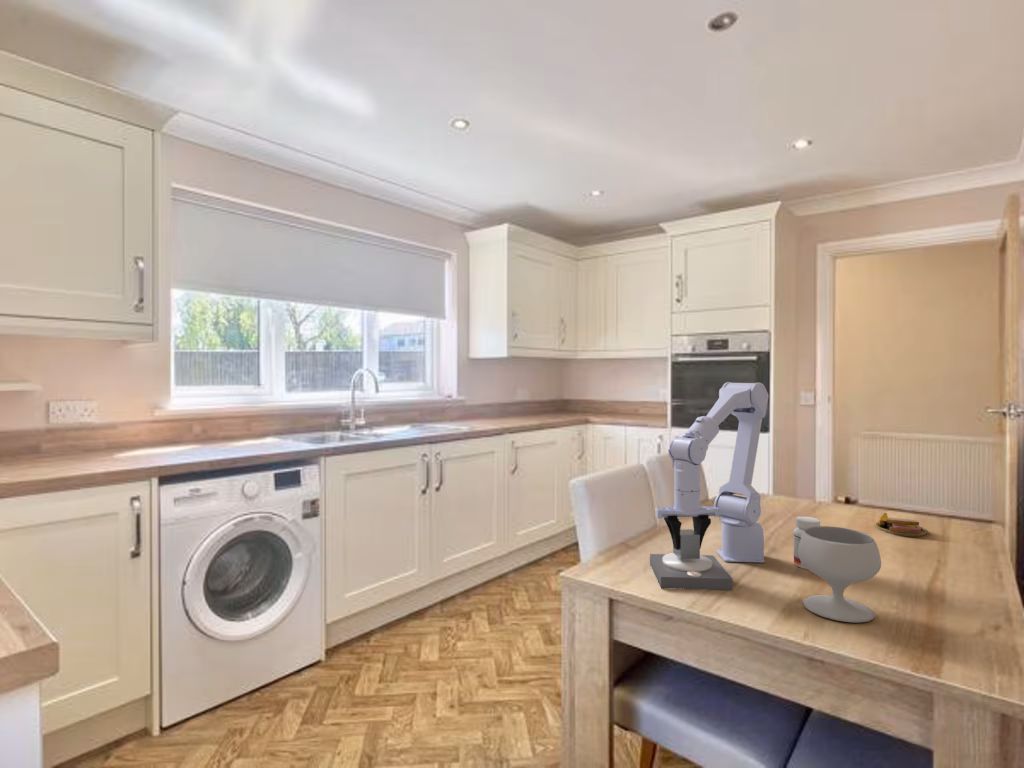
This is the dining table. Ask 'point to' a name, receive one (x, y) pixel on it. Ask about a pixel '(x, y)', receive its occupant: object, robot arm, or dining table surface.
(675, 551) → the block
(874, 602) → the dining table surface
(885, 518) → the toy sandwich meal
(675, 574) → the kitchen scale
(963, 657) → the dining table surface
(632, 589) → the dining table surface
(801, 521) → the pill bottle
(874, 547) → the chalice
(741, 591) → the dining table surface
